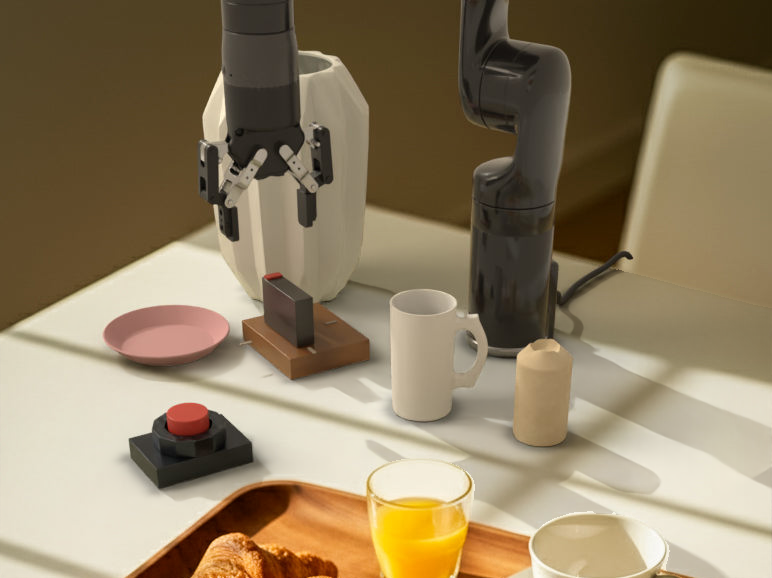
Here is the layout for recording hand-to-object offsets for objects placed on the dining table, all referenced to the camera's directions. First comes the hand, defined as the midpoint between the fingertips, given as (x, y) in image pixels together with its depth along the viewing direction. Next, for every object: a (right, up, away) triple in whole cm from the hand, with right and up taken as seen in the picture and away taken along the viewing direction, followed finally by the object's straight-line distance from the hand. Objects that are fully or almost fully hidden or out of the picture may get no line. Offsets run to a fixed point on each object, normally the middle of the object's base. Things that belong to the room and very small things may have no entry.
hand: (269, 232), depth 142 cm
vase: (0, -1, +26) cm, 26 cm away
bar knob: (+1, -9, +10) cm, 13 cm away
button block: (-7, -25, -9) cm, 27 cm away
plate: (-13, -10, +12) cm, 21 cm away
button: (-7, -22, -11) cm, 25 cm away
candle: (+28, -22, -4) cm, 36 cm away
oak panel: (+2, -11, +11) cm, 16 cm away
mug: (+18, -19, 0) cm, 26 cm away
